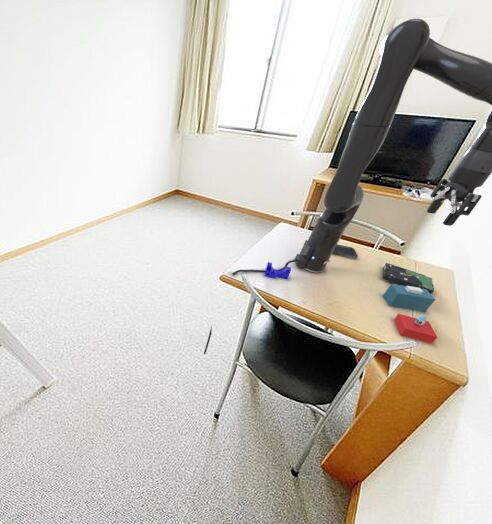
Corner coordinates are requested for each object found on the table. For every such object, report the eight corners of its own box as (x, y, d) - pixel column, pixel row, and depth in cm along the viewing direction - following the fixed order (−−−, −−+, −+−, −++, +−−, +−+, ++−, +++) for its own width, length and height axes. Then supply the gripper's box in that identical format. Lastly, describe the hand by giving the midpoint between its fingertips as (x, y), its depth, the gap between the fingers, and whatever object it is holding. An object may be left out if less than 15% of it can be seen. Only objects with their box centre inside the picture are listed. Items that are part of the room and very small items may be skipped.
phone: (316, 239, 133) (353, 247, 130) (315, 242, 134) (352, 249, 130) (318, 248, 127) (358, 257, 123) (317, 250, 128) (356, 259, 124)
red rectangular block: (400, 334, 90) (412, 320, 87) (393, 319, 96) (404, 305, 92) (431, 343, 88) (445, 328, 85) (423, 327, 93) (435, 313, 90)
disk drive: (381, 280, 113) (430, 296, 107) (385, 274, 112) (435, 290, 105) (382, 268, 120) (428, 282, 114) (385, 262, 119) (432, 276, 112)
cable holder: (264, 275, 110) (267, 267, 108) (264, 270, 113) (267, 262, 111) (287, 281, 108) (291, 272, 106) (286, 276, 111) (290, 267, 109)
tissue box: (425, 311, 100) (438, 296, 96) (389, 305, 101) (400, 290, 97) (416, 301, 104) (428, 286, 100) (382, 295, 105) (393, 280, 102)
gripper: (444, 158, 90) (413, 207, 100) (478, 172, 79) (438, 227, 88) (472, 161, 89) (437, 211, 99) (510, 176, 78) (467, 231, 87)
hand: (438, 218), depth 93 cm, fingers open, 8 cm apart
